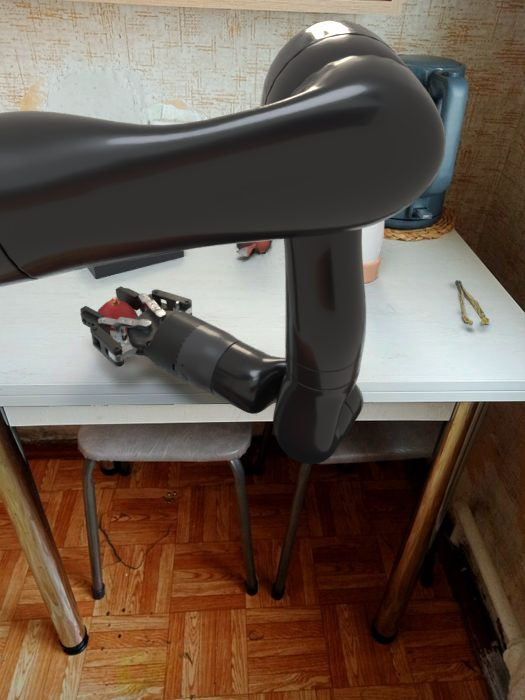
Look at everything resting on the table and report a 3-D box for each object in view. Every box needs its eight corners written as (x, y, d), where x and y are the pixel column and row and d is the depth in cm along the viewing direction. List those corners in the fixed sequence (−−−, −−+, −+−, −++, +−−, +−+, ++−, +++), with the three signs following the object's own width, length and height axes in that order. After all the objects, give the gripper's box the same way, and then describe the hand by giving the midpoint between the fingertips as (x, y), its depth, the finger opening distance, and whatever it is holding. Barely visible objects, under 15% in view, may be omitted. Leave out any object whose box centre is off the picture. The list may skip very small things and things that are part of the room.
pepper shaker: (361, 259, 93) (383, 153, 81) (385, 279, 88) (412, 169, 76) (327, 266, 91) (345, 157, 79) (350, 286, 86) (372, 174, 74)
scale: (95, 279, 83) (92, 262, 81) (68, 242, 92) (65, 226, 90) (184, 256, 90) (183, 240, 88) (151, 224, 99) (149, 209, 97)
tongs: (461, 283, 90) (465, 274, 88) (488, 331, 80) (492, 321, 79) (438, 282, 89) (442, 273, 88) (462, 330, 80) (466, 320, 78)
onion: (89, 351, 69) (80, 302, 64) (114, 328, 73) (107, 280, 68) (126, 363, 68) (119, 314, 63) (149, 339, 72) (145, 292, 67)
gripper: (236, 301, 63) (137, 257, 70) (155, 360, 54) (50, 303, 61) (234, 347, 68) (142, 302, 75) (160, 409, 59) (62, 351, 65)
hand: (101, 303), depth 68 cm, fingers closed on onion, 5 cm apart
